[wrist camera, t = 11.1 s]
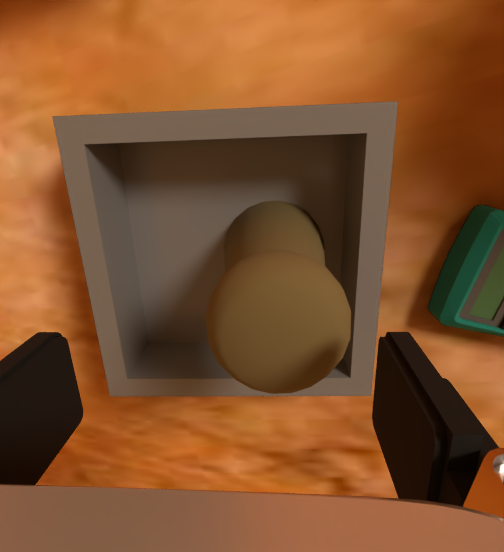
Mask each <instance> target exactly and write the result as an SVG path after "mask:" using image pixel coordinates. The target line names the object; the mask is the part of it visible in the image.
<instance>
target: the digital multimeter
mask: <svg viewBox="0 0 504 552" xmlns="http://www.w3.org/2000/svg"><path fill="white" fill-rule="evenodd" d="M428 309H429V311H430V312H431V313H432V314H433V315H434V316H435V317H436V318H437V319H438V321H439V322H440V323H441V324H443V325H445V326H451V327H456V328H461V329H466V330H472V331H477V332H482V333H488V334H493V335H498V336H504V211H503V210H499V209H496V208H492V207H489V206H486V205H478V206H476V207H475V208H474V209H473V210H472V211H471V213H470V215H469V217H468V219H467V220H466V222H465V224H464V226H463V227H462V229H461V231H460V233H459V235H458V236H457V238H456V240H455V242H454V244H453V246H452V248H451V250H450V252H449V254H448V256H447V258H446V261H445V263H444V265H443V267H442V270H441V272H440V275H439V278H438V280H437V283H436V285H435V288H434V291H433V294H432V297H431V300H430V303H429V307H428Z"/></svg>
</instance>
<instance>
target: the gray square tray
mask: <svg viewBox="0 0 504 552" xmlns="http://www.w3.org/2000/svg"><path fill="white" fill-rule="evenodd" d="M397 108H398V101H396V102H373V103H350V104H327V105H304V106H281V107H258V108H236V109H213V110H190V111H167V112H144V113H121V114H98V115H75V116H52V117H53V122H54V127H55V131H56V136H57V141H58V146H59V151H60V156H61V161H62V165H63V170H64V175H65V180H66V185H67V190H68V195H69V199H70V204H71V209H72V214H73V219H74V224H75V229H76V233H77V238H78V243H79V248H80V253H81V258H82V263H83V267H84V272H85V277H86V282H87V287H88V292H89V297H90V301H91V306H92V311H93V316H94V321H95V326H96V331H97V335H98V340H99V345H100V350H101V355H102V360H103V365H104V370H105V374H106V379H107V384H108V389H109V394H110V396H371V390H372V380H373V369H374V358H375V347H376V336H377V325H378V314H379V303H380V293H381V282H382V271H383V260H384V249H385V238H386V227H387V216H388V206H389V195H390V184H391V173H392V162H393V151H394V140H395V130H396V119H397ZM278 200H280V201H284V202H288V203H291V204H295V205H297V206H298V207H300V208H301V209H303V210H305V211H306V212H308V213H309V214H310V215H311V217H312V218H313V219H314V220H315V222H316V223H317V224H318V225H319V228H320V231H321V234H322V237H323V239H324V254H325V267H326V268H327V269H328V270H329V271H330V272H331V274H332V275H333V276H334V277H335V278H336V280H337V281H338V282H339V283H340V285H341V286H342V288H343V290H344V292H345V295H346V298H347V301H348V304H349V306H350V309H351V334H350V341H349V343H348V346H347V348H346V351H345V354H344V356H343V358H342V359H341V361H340V362H339V363H338V364H337V365H336V367H335V368H334V369H333V370H332V371H331V373H330V374H329V375H328V376H327V377H325V378H324V379H322V380H321V381H319V382H318V383H316V384H315V385H313V386H311V387H310V388H306V389H303V390H300V391H297V392H293V393H280V394H271V393H266V392H262V391H258V390H253V389H251V388H249V387H248V386H246V385H244V384H242V383H240V382H238V381H236V380H235V379H234V378H233V377H232V376H231V375H230V374H229V373H228V372H227V371H226V370H225V369H224V368H223V367H222V366H221V365H220V364H219V363H218V362H217V360H216V358H215V356H214V354H213V352H212V350H211V348H210V346H209V342H208V335H207V327H206V320H205V317H206V313H207V308H208V303H209V299H210V296H211V294H212V291H213V290H214V288H215V287H216V285H217V283H218V282H219V280H220V279H221V277H222V275H223V274H224V273H225V256H224V244H225V240H226V235H227V231H228V230H229V228H230V226H231V225H232V223H233V221H234V220H235V218H236V217H237V216H238V215H240V214H241V213H242V212H243V211H244V210H246V209H247V208H248V207H251V206H253V205H256V204H258V203H260V202H264V201H278Z"/></svg>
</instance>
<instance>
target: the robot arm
mask: <svg viewBox="0 0 504 552" xmlns="http://www.w3.org/2000/svg"><path fill="white" fill-rule="evenodd" d="M82 417H83V407H82V403H81V398H80V394H79V389H78V385H77V381H76V376H75V372H74V367H73V363H72V358H71V354H70V350H69V345H68V341H67V339H66V338H65V337H62V335H61V334H60V333H58V332H39V333H37V334H35V335H34V336H32V337H31V338H30V339H28V340H27V341H26V342H24V343H23V344H22V345H20V346H19V347H18V348H17V349H15V350H14V351H13V352H11V353H10V354H9V355H7V356H6V357H5V358H3V359H2V360H1V361H0V552H504V448H499V447H498V446H497V444H496V443H495V442H494V440H493V439H492V438H491V436H490V435H489V434H488V432H487V431H486V430H485V428H484V427H483V426H482V424H481V423H480V422H479V420H478V419H477V417H476V416H475V415H474V413H473V412H472V411H471V409H470V408H469V407H468V405H467V404H466V403H465V401H464V400H463V399H462V397H461V396H460V395H459V393H458V392H457V391H456V389H455V388H454V387H453V385H452V384H451V383H450V382H449V381H448V380H447V379H445V378H442V377H441V376H440V374H439V373H438V371H437V370H436V369H435V367H434V366H433V365H432V363H431V362H430V360H429V359H428V358H427V356H426V355H425V354H424V352H423V351H422V349H421V348H420V347H419V345H418V344H417V343H416V341H415V340H414V338H413V337H412V336H411V334H410V333H409V332H387V333H386V336H385V337H380V339H379V344H378V356H377V367H376V378H375V390H374V401H373V412H372V419H373V426H374V429H375V432H376V435H377V438H378V441H379V444H380V446H381V449H382V452H383V455H384V458H385V461H386V463H387V466H388V469H389V472H390V475H391V478H392V481H393V483H394V486H395V489H396V492H397V495H398V498H399V499H397V498H383V497H369V496H349V495H322V494H295V493H268V492H240V491H209V490H178V489H146V488H114V487H81V486H48V485H35V484H36V483H37V482H38V480H39V479H40V478H41V476H42V475H43V473H44V472H45V471H46V469H47V468H48V467H49V465H50V464H51V462H52V461H53V460H54V458H55V457H56V455H57V454H58V453H59V451H60V450H61V449H62V447H63V446H64V444H65V443H66V442H67V440H68V439H69V437H70V436H71V435H72V433H73V432H74V431H75V429H76V428H77V426H78V425H79V424H80V422H81V420H82Z"/></svg>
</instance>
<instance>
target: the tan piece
mask: <svg viewBox="0 0 504 552" xmlns="http://www.w3.org/2000/svg"><path fill="white" fill-rule="evenodd" d="M224 256H225V273H224V274H223V275H222V277H221V279H220V280H219V282H218V283H217V285H216V287H215V288H214V290H213V291H212V294H211V296H210V299H209V303H208V308H207V313H206V317H205V320H206V327H207V335H208V342H209V346H210V348H211V350H212V352H213V354H214V356H215V358H216V360H217V362H218V363H219V364H220V365H221V366H222V367H223V368H224V369H225V370H226V371H227V372H228V373H229V374H230V375H231V376H232V377H233V378H234V379H235V380H236V381H238V382H240V383H242V384H244V385H246V386H248V387H249V388H251V389H253V390H258V391H262V392H266V393H271V394H280V393H293V392H297V391H300V390H303V389H306V388H310V387H311V386H313V385H315V384H316V383H318V382H319V381H321V380H322V379H324V378H325V377H327V376H328V375H329V374H330V373H331V371H332V370H333V369H334V368H335V367H336V365H337V364H338V363H339V362H340V361H341V359H342V358H343V356H344V354H345V351H346V348H347V346H348V343H349V341H350V334H351V309H350V306H349V304H348V301H347V298H346V295H345V292H344V290H343V288H342V286H341V285H340V283H339V282H338V281H337V280H336V278H335V277H334V276H333V275H332V274H331V272H330V271H329V270H328V269H327V268H326V267H325V254H324V239H323V237H322V234H321V231H320V228H319V225H318V224H317V223H316V222H315V220H314V219H313V218H312V217H311V215H310V214H309V213H308V212H306V211H305V210H303V209H301V208H300V207H298V206H297V205H295V204H291V203H288V202H284V201H280V200H278V201H264V202H260V203H258V204H256V205H253V206H251V207H248V208H247V209H246V210H244V211H243V212H242V213H241V214H240V215H238V216H237V217H236V218H235V220H234V221H233V223H232V225H231V226H230V228H229V230H228V231H227V235H226V240H225V244H224Z"/></svg>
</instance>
